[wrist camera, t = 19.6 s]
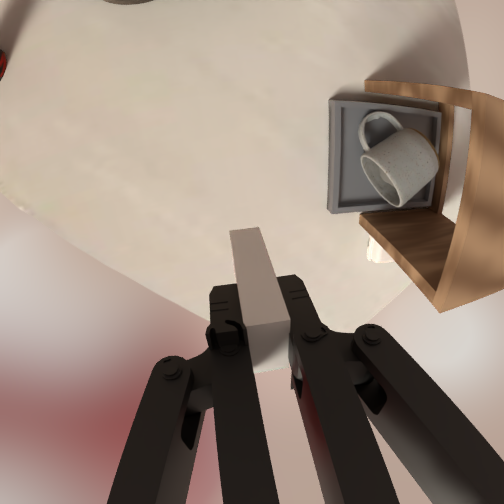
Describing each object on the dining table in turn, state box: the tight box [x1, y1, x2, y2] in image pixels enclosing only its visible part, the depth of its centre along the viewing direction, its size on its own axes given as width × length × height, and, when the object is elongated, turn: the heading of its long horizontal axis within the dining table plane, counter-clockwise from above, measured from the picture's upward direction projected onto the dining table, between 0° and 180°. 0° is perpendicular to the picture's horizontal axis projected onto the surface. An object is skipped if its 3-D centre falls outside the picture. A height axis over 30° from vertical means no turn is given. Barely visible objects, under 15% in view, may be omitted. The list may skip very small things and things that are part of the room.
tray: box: [327, 100, 442, 214], centre depth 34 cm, size 14×17×2 cm
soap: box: [367, 235, 394, 263], centre depth 42 cm, size 9×7×3 cm
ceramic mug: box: [358, 111, 440, 207], centre depth 31 cm, size 11×8×8 cm
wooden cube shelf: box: [359, 80, 504, 313], centre depth 27 cm, size 20×14×20 cm
